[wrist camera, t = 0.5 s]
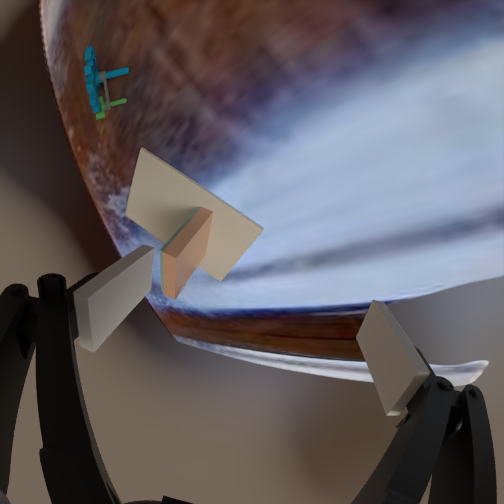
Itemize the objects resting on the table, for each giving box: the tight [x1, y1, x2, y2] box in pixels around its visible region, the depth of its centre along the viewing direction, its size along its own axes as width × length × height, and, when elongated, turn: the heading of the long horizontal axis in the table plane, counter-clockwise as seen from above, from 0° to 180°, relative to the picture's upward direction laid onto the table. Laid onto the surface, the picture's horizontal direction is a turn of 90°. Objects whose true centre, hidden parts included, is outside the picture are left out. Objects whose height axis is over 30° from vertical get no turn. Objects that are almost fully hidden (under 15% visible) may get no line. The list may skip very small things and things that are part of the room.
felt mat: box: [125, 147, 264, 281], centre depth 41 cm, size 15×21×1 cm
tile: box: [160, 207, 213, 300], centre depth 37 cm, size 2×9×10 cm, turn 165°
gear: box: [84, 45, 129, 120], centre depth 26 cm, size 11×6×10 cm
